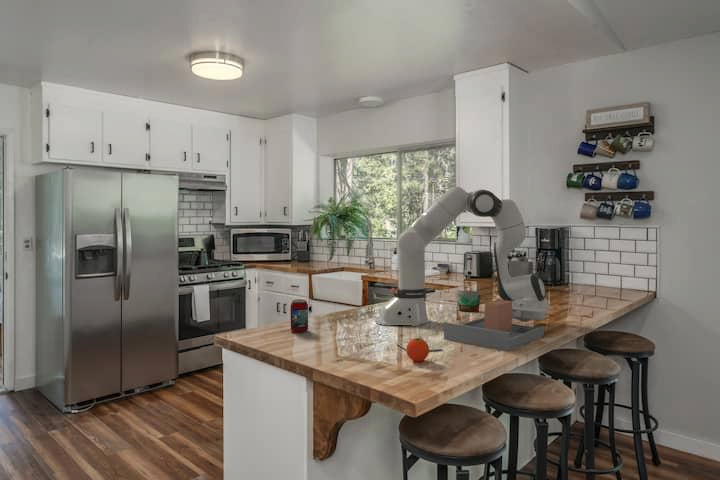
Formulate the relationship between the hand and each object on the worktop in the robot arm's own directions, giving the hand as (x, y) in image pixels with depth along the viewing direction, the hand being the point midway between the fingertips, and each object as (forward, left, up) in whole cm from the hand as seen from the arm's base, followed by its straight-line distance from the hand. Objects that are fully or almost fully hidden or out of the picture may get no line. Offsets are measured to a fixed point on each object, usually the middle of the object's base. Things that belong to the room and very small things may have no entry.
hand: (509, 314), depth 183 cm
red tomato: (-42, -29, -8) cm, 52 cm away
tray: (-7, -4, -7) cm, 11 cm away
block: (-5, -2, -5) cm, 7 cm away
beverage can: (-78, +15, -8) cm, 80 cm away
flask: (+55, +106, -8) cm, 120 cm away
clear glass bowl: (-38, -14, -8) cm, 42 cm away
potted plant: (0, +45, -8) cm, 46 cm away
